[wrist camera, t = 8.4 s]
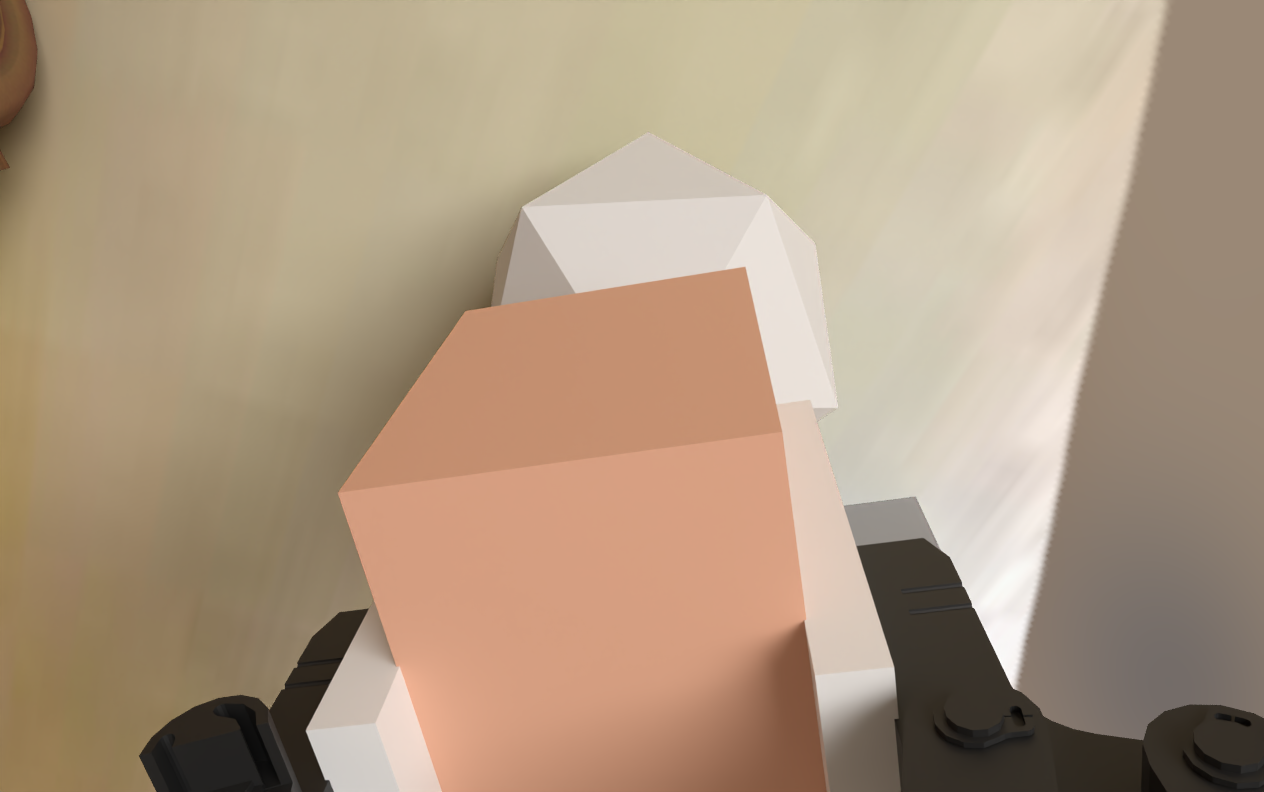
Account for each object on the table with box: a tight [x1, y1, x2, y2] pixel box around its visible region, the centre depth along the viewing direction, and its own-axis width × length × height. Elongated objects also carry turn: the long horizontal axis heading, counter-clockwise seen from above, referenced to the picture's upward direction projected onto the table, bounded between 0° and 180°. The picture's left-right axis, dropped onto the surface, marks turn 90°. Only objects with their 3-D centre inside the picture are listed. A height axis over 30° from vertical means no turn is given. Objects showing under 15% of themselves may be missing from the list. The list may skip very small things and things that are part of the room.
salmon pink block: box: [338, 267, 827, 792], centre depth 13 cm, size 7×4×6 cm, turn 10°
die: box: [491, 132, 838, 422], centre depth 23 cm, size 8×9×10 cm
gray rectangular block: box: [844, 497, 940, 550], centre depth 29 cm, size 4×7×6 cm, turn 100°
